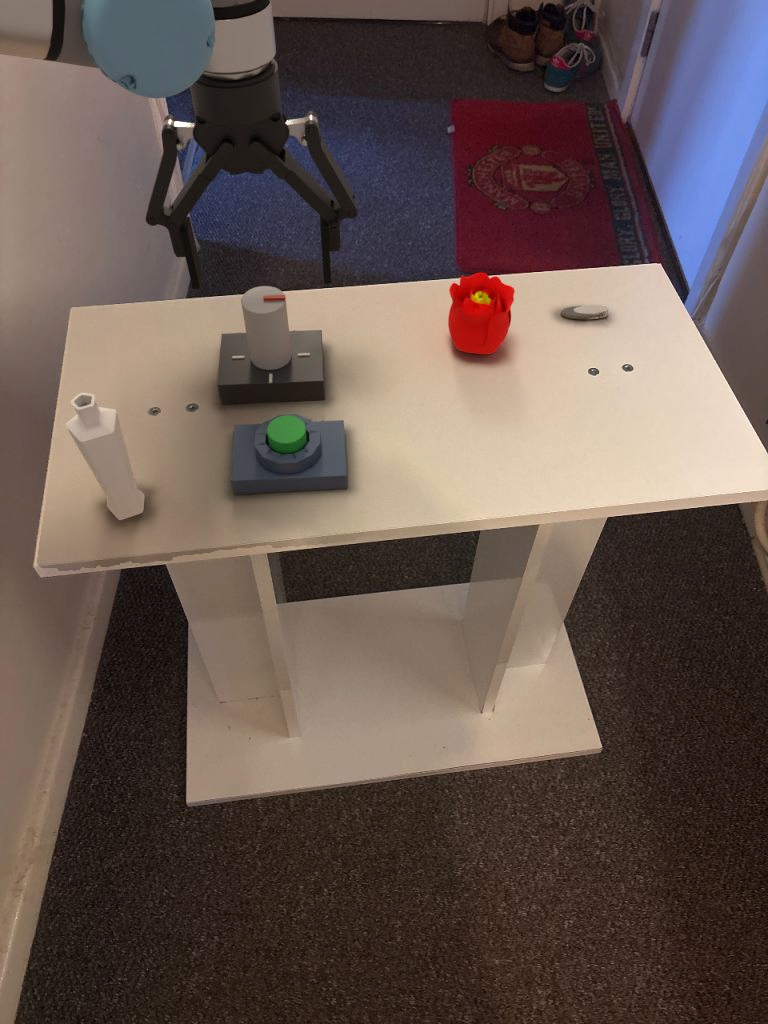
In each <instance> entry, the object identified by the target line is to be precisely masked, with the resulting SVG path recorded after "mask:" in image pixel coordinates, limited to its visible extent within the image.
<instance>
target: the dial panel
mask: <svg viewBox="0 0 768 1024" xmlns="http://www.w3.org/2000/svg"><path fill="white" fill-rule="evenodd" d="M289 334H290V343H291V352H292V357H291V360H290V361H289V363H288V364H286V365H285V366H284V367H281V368H279V369H275V370H265V369H261V368H258V367H257V366H255V365H254V364H253V363H252V361H251V358H250V352H249V346H248V340H247V334H246V332H237V333H236V332H233V333H230V332H229V333H228V332H227V333H222V334H221V337H220V350H219V361H218V362H219V363H218V373H217V390H218V395H219V399H220V404H221V405H233V404H234V405H235V404H237V405H238V404H258V403H280V402H302V401H303V402H307V401H325V400H326V390H325V366H324V343H323V330H322V329H309V330H289Z"/></svg>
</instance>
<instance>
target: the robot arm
mask: <svg viewBox="0 0 768 1024" xmlns="http://www.w3.org/2000/svg"><path fill="white" fill-rule="evenodd" d="M274 25H275V24H274V15H273V5H272V0H0V55H3V56H12V57H19V58H25V59H32V60H40V61H46V62H47V61H48V62H56V63H61V64H66V65H67V64H68V65H74V66H79V67H85V68H86V67H87V68H94V69H99V70H100V72H101V73H102V74H103V75H104V76H105V77H106V78H107V79H108V80H110V81H112V82H113V83H115V84H117V85H118V86H119V87H121V88H123V89H124V90H127V91H129V92H131V93H132V94H134V95H137V96H139V97H143V98H149V99H166V98H170V97H173V96H176V95H178V94H180V93H182V92H184V91H186V90H188V89H189V91H190V94H191V101H192V105H193V109H194V116H195V119H194V122H189V121H188V122H187V121H179V120H178V119H177V117H175V115H172V114H169V115H168V114H167V115H166V116H165V117H164V119H163V125H162V129H161V143H162V154H161V158H160V160H159V165H158V169H157V172H156V175H155V179H154V183H153V187H152V190H151V193H150V197H149V201H148V205H147V210H146V214H145V223H146V224H147V225H149V226H151V227H155V226H157V225H159V226H162V227H164V228H166V229H167V232H168V234H169V238H170V242H171V247H172V250H173V254H174V255H175V256H176V258H185V261H186V265H187V270H188V274H189V279H190V283H191V288H192V289H193V290H200V289H201V285H202V277H203V271H202V266H201V261H200V258H199V257H200V256H199V252H198V247H197V243H196V238H195V234H194V230H193V225H192V221H191V217H190V216H189V214H190V213H191V211H192V210H193V209H194V207H195V206H196V204H197V203H198V201H199V200H200V199H201V197H202V195H203V194H204V193H205V191H206V190H207V188H208V187H209V185H210V184H211V183H212V182H214V181H215V179H216V177H218V175H219V174H220V172H221V171H222V170H223V171H224V172H227V173H228V174H229V176H236V175H237V176H238V175H242V174H246V173H248V174H254V175H264V172H266V171H268V170H270V171H271V172H272V173H273V175H275V176H276V177H277V178H279V179H280V180H283V181H284V182H285V183H286V184H287V185H288V186H290V187H291V189H293V190H294V191H295V193H297V194H298V195H299V196H300V197H301V198H302V199H303V200H304V201H305V203H307V204H308V205H309V206H310V207H311V208H312V209H313V210H314V211H315V212H316V213H317V214H318V215H319V227H320V229H319V230H320V244H321V257H322V273H323V274H322V275H323V284H324V285H327V284H328V285H331V284H332V272H331V270H332V269H331V254H330V253H331V252H340V250H341V247H342V246H341V245H342V244H341V228H340V227H341V222H342V221H343V220H345V219H350V220H352V219H355V218H357V216H358V214H359V211H358V210H359V209H358V200H357V196H356V195H355V193H354V191H353V189H352V188H351V186H350V184H349V182H348V181H347V179H346V177H345V175H344V173H343V172H342V170H341V168H340V166H339V165H338V163H337V161H336V159H335V158H334V155H333V154H332V152H331V150H330V149H329V146H328V144H327V143H326V142H325V140H324V138H323V136H322V133H321V127H320V122H319V117H318V114H317V113H316V112H315V111H313V110H308V111H306V113H305V114H304V117H299V118H293V119H287V117H286V116H285V114H284V111H283V105H282V95H281V87H280V85H281V84H280V76H279V75H280V74H279V67H278V66H279V65H278V62H277V60H276V59H275V56H276V54H277V47H276V46H277V45H276V36H275V35H276V34H275V26H274ZM290 137H293V138H295V139H296V140H297V142H298V143H299V144H300V146H302V147H307V150H308V153H309V155H310V157H311V159H312V161H313V163H314V164H315V166H316V168H317V169H318V171H319V172H320V174H321V176H322V177H323V179H324V181H325V183H326V185H327V187H328V189H330V192H331V193H332V195H333V196H334V198H335V199H334V198H333V196H331V195H330V194H329V193H328V192H327V191H326V190H325V189H324V188H323V187H322V186H321V185H320V184H319V182H317V181H316V179H315V178H314V177H312V176H311V174H310V173H309V172H308V171H307V170H306V169H304V167H303V166H301V164H300V163H299V162H298V161H296V160H295V158H294V157H293V156H292V153H291V152H290V151H289V150H288V148H286V147H285V145H286V144H287V143H288V140H289V139H290ZM191 140H194V142H195V143H196V144H197V145H198V146H199V148H201V149H202V151H203V152H204V153H203V155H202V157H201V160H200V161H199V163H198V164H197V166H196V167H195V169H194V171H193V172H192V173H191V175H190V177H188V179H187V181H186V182H185V184H184V185H183V187H182V189H181V190H180V192H179V193H178V194H177V196H176V198H175V199H174V200H173V202H172V203H169V206H166V205H165V201H166V199H167V194H168V191H169V187H170V185H171V181H172V178H173V175H174V172H175V167H176V164H177V160H178V155H179V151H182V150H185V149H186V148H187V145H188V142H189V141H191Z"/></svg>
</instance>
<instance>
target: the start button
mask: <svg viewBox="0 0 768 1024" xmlns="http://www.w3.org/2000/svg"><path fill="white" fill-rule="evenodd" d="M285 415H286V416H280V417H277V418H275V419H274V420H272V421H271V422H270V424H269V425H268V428H267V435H268V441H269V445H270V447H271V448H272V449H273V450H274V451H275V452H277V453H280V454H293V453H296V452H298V451H300V450H301V449H302V448H303V447H304V446H305V444H306V442H307V436H306V426H305V424H304V422H303V421H302V420H301V419H299V418H297V417H295V416H290V415H291V414H285Z"/></svg>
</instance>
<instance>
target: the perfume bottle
mask: <svg viewBox="0 0 768 1024" xmlns="http://www.w3.org/2000/svg"><path fill="white" fill-rule="evenodd" d="M69 404H71V406H72V407H74V411H75V412H76V414H75V415H74V416H72V418H70V419H69V420H68V421H67V422H66V423H65V427H66V429H67V431H68V433H69V434H70V436H71V438H72V439H73V441H74V443H75V444H76V446H77V448H78V451H80V453H81V455H82V457H83V459H84V460H85V462H86V463H87V465H88V467H89V469H90V470H91V472H92V474H93V476H94V478H95V479H96V481H97V483H98V484H99V486H100V488H101V490H102V492H103V493H104V495H105V497H106V507H107V509H108V510H109V512H111V513H112V514H113V516H114V517H115V518H116V519H117V520H118V521H123V520H125V519H129V518H132V517H134V516H138V515H141V514H142V513H144V510H145V509H144V508H145V498H146V497H145V493H144V492H143V491H141V489H140V488H138V485H137V481H136V477H135V474H134V470H133V466H132V463H131V459H130V456H129V452H128V448H127V444H126V441H125V437H124V434H123V430H122V427H121V423H120V419H119V416H118V412H117V410H116V409H114V408H110V407H109V408H108V407H103V406H98V404H97V400H96V394H93V393H89V392H79V393H78V394H77V395H76V396H74V398H72V399H71V401H70V403H69Z"/></svg>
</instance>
